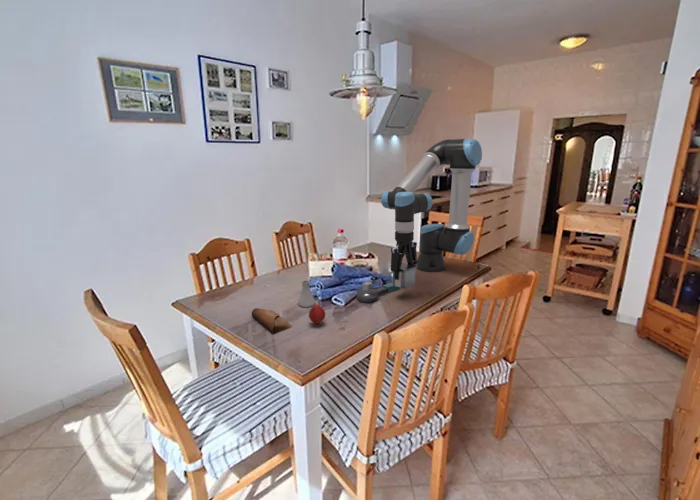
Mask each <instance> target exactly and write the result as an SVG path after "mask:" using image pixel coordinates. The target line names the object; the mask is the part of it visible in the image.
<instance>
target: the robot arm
mask: <svg viewBox="0 0 700 500" xmlns="http://www.w3.org/2000/svg"><path fill="white" fill-rule="evenodd" d="M482 158H483V150H482V146H481V144H480V142H479V141H478V140H477V139H474V138H462V139H461V138H455V139H450V138H449V139H444V140H441V141H439V142H437V143H435V144H433V145H432V146H430V147H429V148H428V149H427V150H426V151H425V152H424V153H423V155H422V157H421V160H420V161H418V163H417V164H416V165H415V166H414V167H413V168H412V169H411V170H410V171H409V173H407V174H406V176H404V178H403V179H402V180H401V181H400V183H398V184H397V185H396V186H395V188H394V189H392V191H391V190H390V191H389V190H388V191H384V192H383V193H382V194H381V198H380V202H381V205H382V207H383V208H385V209H390V210H394V229H395V232H394V241H396V244H395V247H391V248H390V252H391V253H390V254H391V255H390V257H391V259H390V272H392V273H393V272H394V279H395V286H397V287H400V288H401V272H400V268H401V264H402V263H403V258H404V257H405V260H406V264H408V265H412V266H415V269H418V270H419V271H423V272H428V273H429V272H431V273H434V272H442V271H444V270H445V269H446V261H445V258H444V252H445V253H449V254H450V253H451V254H454V255H462V256H464V255H466V254H467V253H469V252H470V251H471V249H472V246H473V244H474V241H475V236H474V233H473V232H472V231H471V230H470V229H471V227H470V225H468V217H469V216H468V215H469V206H470V205H469V204H470V193H471V184H472V183H471V182H472V173H473V172H474V171H475V170H476V167H477V166H478V165H480V164H481V162H482ZM445 165H447V166H449V170H450V171H451V172H452V175H451V187H450V188H451V190H450V199H449V213H448V223H447V224H443V223H431V224H430V223H429V224H425V225H422V226H421V228H420V236H419V237H420V238H419V242H420V243H419V254H418V257H417V247H418V242H416V241H414V239H415V238H414V236H415V235H414V230H415V215H416V214H417V215H418V214H420V213H425V212H427V211H429V210H431V208H432V207H433V203H434V201H433V198H432V196H431V195H430V194H429V193H426V192H424V193H423V192H421V193H415V192H416V191H417V189H418V188H419V187H420V186H421V185H422V184H423V182H424V181H425V180H426V179H427V178H428V177H429V176H430V175H431V173H433V172H434V171H435V170H438V169H439V168H440V167H441V166H445Z"/></svg>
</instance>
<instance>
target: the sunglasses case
mask: <svg viewBox="0 0 700 500" xmlns="http://www.w3.org/2000/svg"><path fill="white" fill-rule="evenodd" d="M251 316H252V317H253V319H256V321H259V323H260V324H262V325H263V326H264V327H265V328H266V329H268V331H270V332H271V333H272V334H274V335H275V334H278V333H281V332H282V331H283V332H284V331H286V330H288V329H291V328H293V326H292V325H291V324H290V322H289V321H287V320H285V318H284V317H281V316H280V314H279V313H277V312H276V311H274V310H270V309H264V308H259V307H257V308H253V310H251Z"/></svg>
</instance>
